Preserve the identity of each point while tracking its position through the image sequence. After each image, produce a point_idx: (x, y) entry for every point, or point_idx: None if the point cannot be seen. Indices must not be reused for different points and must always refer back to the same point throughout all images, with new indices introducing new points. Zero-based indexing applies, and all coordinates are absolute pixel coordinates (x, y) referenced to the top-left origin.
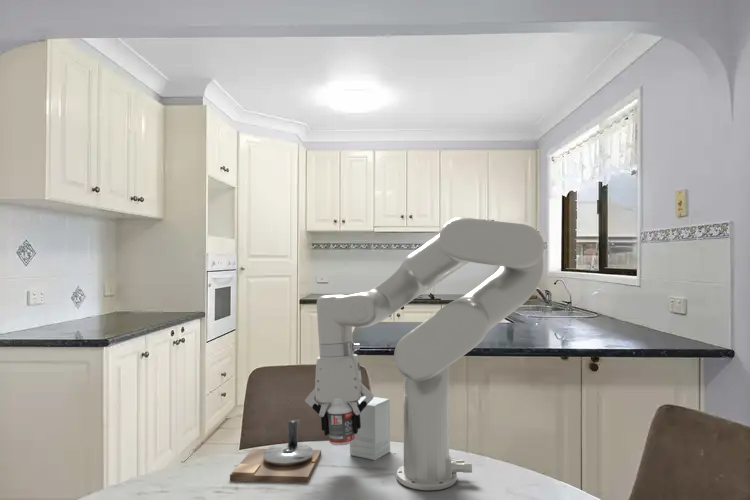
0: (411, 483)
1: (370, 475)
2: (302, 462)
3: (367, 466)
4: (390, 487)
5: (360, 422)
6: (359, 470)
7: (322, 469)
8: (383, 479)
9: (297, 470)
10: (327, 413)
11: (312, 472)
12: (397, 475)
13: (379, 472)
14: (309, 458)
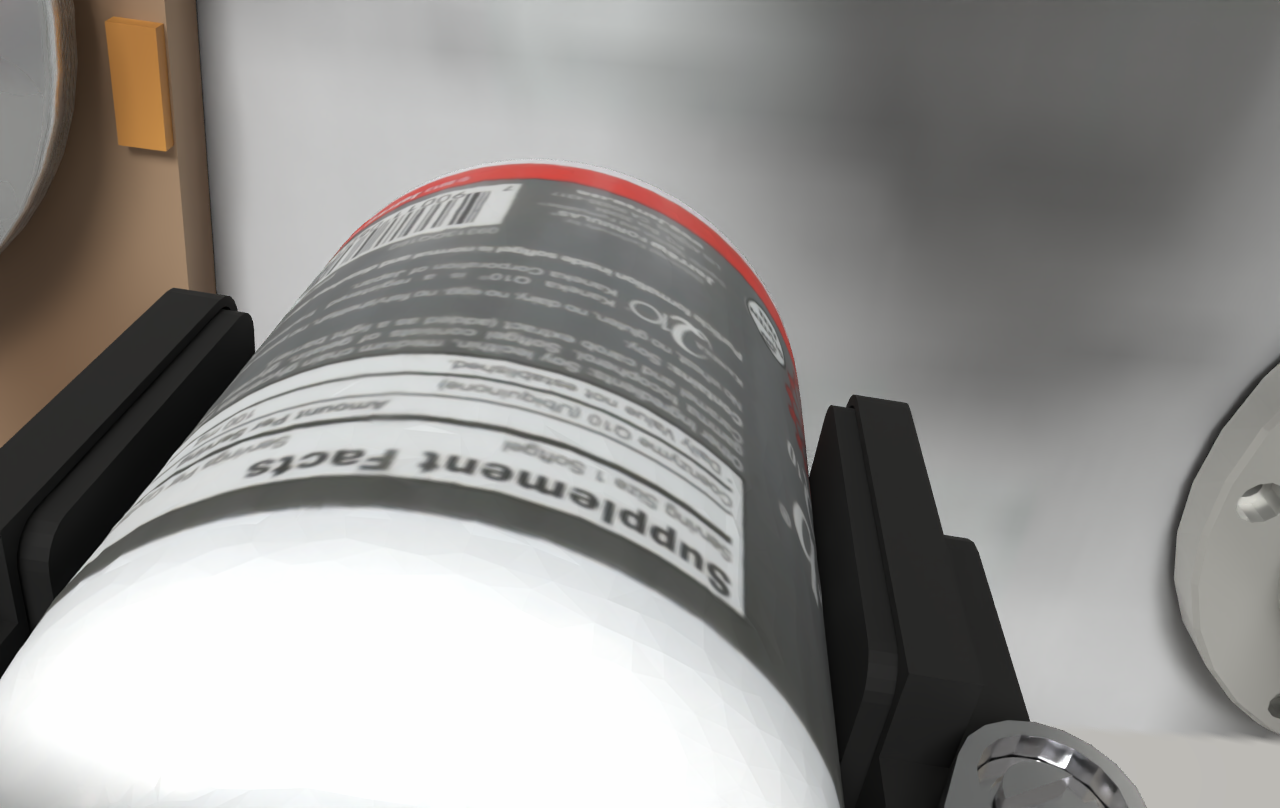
0: (1257, 720)
1: (918, 377)
2: (9, 242)
3: (935, 106)
4: (1054, 634)
5: (987, 582)
6: (807, 229)
7: (317, 159)
8: (1038, 480)
9: (26, 376)
10: (6, 654)
11: (211, 273)
12: (1196, 563)
13: (1046, 307)
14: (64, 130)
